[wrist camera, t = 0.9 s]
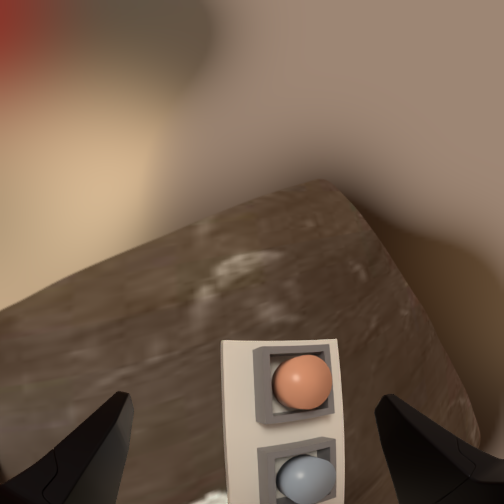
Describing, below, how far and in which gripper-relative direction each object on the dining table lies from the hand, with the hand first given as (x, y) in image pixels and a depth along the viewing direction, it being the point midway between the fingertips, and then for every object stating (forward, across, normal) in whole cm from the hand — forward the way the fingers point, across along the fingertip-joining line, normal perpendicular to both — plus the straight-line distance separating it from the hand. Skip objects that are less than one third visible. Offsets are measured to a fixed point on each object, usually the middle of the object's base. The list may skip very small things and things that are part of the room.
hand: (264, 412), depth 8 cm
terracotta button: (+12, -6, +11) cm, 18 cm away
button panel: (+7, -6, +20) cm, 22 cm away
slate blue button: (+5, -7, +18) cm, 20 cm away
